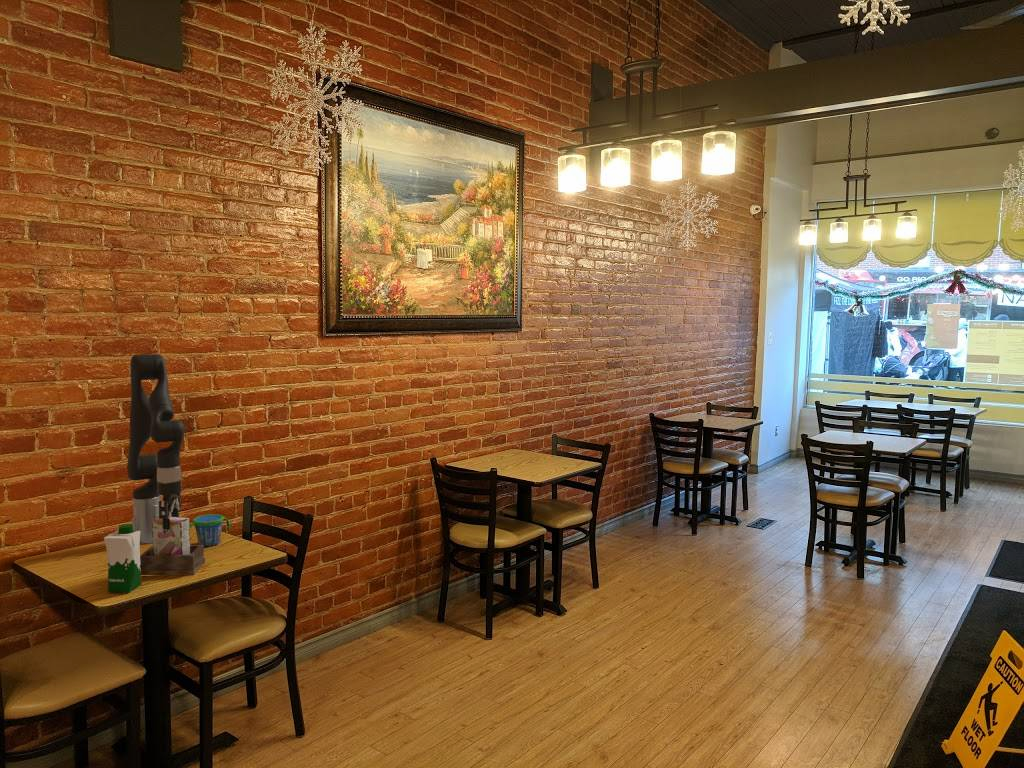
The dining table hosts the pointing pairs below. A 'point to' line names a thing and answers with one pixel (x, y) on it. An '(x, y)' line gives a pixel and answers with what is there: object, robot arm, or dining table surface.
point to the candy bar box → (171, 537)
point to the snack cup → (209, 528)
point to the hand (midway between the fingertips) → (170, 525)
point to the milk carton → (123, 559)
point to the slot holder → (172, 562)
